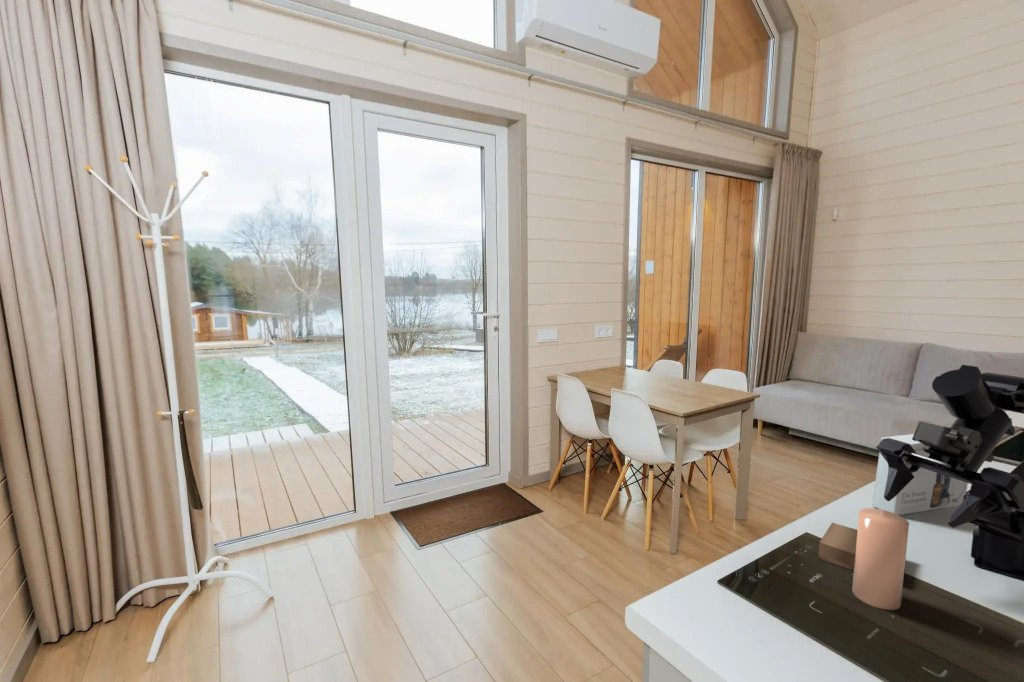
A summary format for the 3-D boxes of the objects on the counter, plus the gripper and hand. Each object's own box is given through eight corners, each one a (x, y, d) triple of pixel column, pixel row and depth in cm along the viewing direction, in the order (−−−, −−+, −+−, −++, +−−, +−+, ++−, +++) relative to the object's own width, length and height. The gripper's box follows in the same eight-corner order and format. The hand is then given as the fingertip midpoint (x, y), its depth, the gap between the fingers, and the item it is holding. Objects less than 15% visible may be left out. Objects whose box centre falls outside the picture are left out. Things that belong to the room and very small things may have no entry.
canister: (902, 596, 74) (911, 517, 73) (898, 615, 70) (906, 531, 68) (856, 580, 78) (862, 504, 77) (848, 597, 74) (855, 517, 73)
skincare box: (896, 518, 99) (903, 444, 97) (871, 506, 104) (877, 436, 103) (968, 505, 105) (976, 435, 103) (940, 495, 110) (947, 428, 108)
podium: (897, 557, 85) (898, 541, 84) (889, 582, 78) (891, 565, 77) (830, 537, 92) (832, 522, 91) (818, 558, 85) (819, 542, 84)
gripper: (888, 392, 83) (835, 460, 81) (1030, 420, 65) (966, 508, 64) (917, 432, 86) (866, 498, 84) (1059, 469, 69) (999, 554, 67)
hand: (916, 511), depth 75 cm, fingers open, 9 cm apart
